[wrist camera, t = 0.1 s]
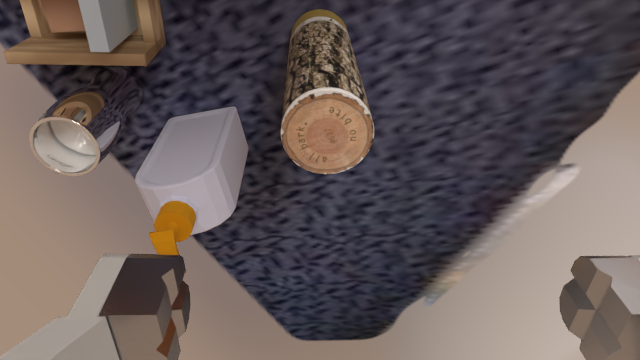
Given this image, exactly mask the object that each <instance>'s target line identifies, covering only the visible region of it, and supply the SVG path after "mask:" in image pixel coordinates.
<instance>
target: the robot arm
mask: <svg viewBox="0 0 640 360" xmlns="http://www.w3.org/2000/svg"><path fill="white" fill-rule="evenodd" d="M185 270H186V269H185V265H184V260H183V257H182V256H180V255H157V254H156V255H155V254H105V255H103V256H102V257H101V258H100V259H99V260H98V262H97V263H96V265H95V267H94V269H93V271H92V272H91V274H90V276H89V278H88V280H87V281H86V283H85V285H84V287H83V288H82V290H81V292H80V294H79V296H78V297H77V299H76V301H75V303H74V305H73V306H72V308H71V310H70V312H69V314H68V315H67V317H57V318H56V319H55V320H53V321H52V322H50V323H49V324H47V325H46V326H44V327H43V328H41V329H40V330H39V331H37V332H36V333H34V334H33V335H31V336H30V337H28V338H27V339H25V340H24V341H22V342H21V343H20V344H18V345H17V346H15V347H14V348H12V349H11V350H9V351H8V352H6V353H5V354H3V355H2V356H0V360H178V357H179V354H180V345H179V340H178V338H179V337H180V336H181V335H182V334H183V333H185V332H186V328H187V324H188V320H189V312H190V292H189V286H188V285H187V284H186V283H185V282H184V281H183V276H184V273H185ZM571 272H572V274H573V276H574V279H572V280H571V281H570V282H568V283H567V284H566V285H564V287H563V290H562V292H561V295H560V312H561V315H562V319H563V321H564V323H565V324H566V326H567V328H568V330H569V331H570V332H572V333H573V334H574V335H576V336H577V337H579V338H580V339H581V344H580V351H581V352H582V354H583V355H584V357H585V359H586V360H640V255H633V256H580V257H579V258H578V259H577V260H575V261H574V264H573V266H572V268H571Z"/></svg>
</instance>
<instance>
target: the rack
mask: <svg viewBox="0 0 640 360" xmlns="http://www.w3.org/2000/svg"><path fill="white" fill-rule="evenodd" d="M20 3H21V7H22V10H23V13H24V16H25V20H26V23H27V26H28V29H29V32H30V36H31V37H30V38H28V39H26V40H24V41H23V42H21V43H19V44H17V45H15V46H14V47H12V48H10V49H8V50H6V51H5V52H4V55H5V58H6V61H7V63H8V64H54V65H116V66H147V65H148V64H149V62H150V61H151V60H152V59H153V58H154V57H155V56H156V55H157V53H158V52H159V51H160V50H161V49H162V48H163V47H164V45H165V44H166V39H165V32H164V26H163V19H162V13H161V6H160V0H133V3H134V8H135V14H136V19H137V25H138V28H137V29H136V30H135V31H134V32H133V33H132V34H130V35H129V36H128V37H127V38H126V39H125V40H123V41H122V42H121V43H120V44H119V45H117V46H116V47H115V48H114V49H113V50H112V51H110V52H91V51H90V47H89V43H88V39H87V35H86V31H75V32H55V33H52V32H51V30H50V27H49V24H48V21H47V18H46V15H45V13H44V10H43V7H42V4H41V1H40V0H20Z"/></svg>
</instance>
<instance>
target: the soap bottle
mask: <svg viewBox="0 0 640 360" xmlns="http://www.w3.org/2000/svg"><path fill="white" fill-rule="evenodd" d="M248 149H249V148H248V145H247V141H246V138H245V135H244V132H243V128H242V125H241V122H240V118H239V115H238V112H237V108H236V107H226V108H221V109H215V110H210V111H204V112H199V113H193V114H188V115H182V116H177V117H173V118H170V119H169V120H168V121H167V123H166V125H165V126H164V128H163V130H162V132H161V133H160V135H159V137H158V138H157V140H156V142H155V143H154V145H153V147H152V149H151V150H150V152H149V154H148V155H147V157H146V159H145V161H144V162H143V164H142V166H141V167H140V169H139V171H138V173H137V174H136V178H135V183H136V186H137V188H138V190H139V192H140V194H141V196H142V198H143V200H144V203H145V205H146V207H147V209H148V211H149V213H150V215H151V217H152V219H153V221H154V227H155V230H156V232H150V233H149V235H150V238H151V241H152V244H153V245H154V247H155V249H156V251H157V253H158V254H159V255H179V252H178V249H177V245H176V242H180V241H183V240H186V239H187V238H188V237H189V236H190V235H193V234H197V233H201V232H205V231H207V230H209V229H212V228H214V227H216V226H218V225H220V224H221V223H223V222H224V221H225V220H226V219H228V218H229V217H230V216H231V215H232V213H233V211H234V210H235V208H236V204H237V199H238V195H239V190H240V186H241V181H242V177H243V172H244V167H245V163H246V158H247V154H248ZM185 273H186V270H185Z"/></svg>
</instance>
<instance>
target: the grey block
mask: <svg viewBox="0 0 640 360" xmlns="http://www.w3.org/2000/svg"><path fill="white" fill-rule="evenodd" d="M78 2H79V6H80V10H81V14H82V18H83V22H84V27H85V31H86V35H87V39H88V43H89V47H90V51H91V52H110V51H112V50H113V49H114V48H115V47H116V46H117V45H119V44H120V43H121V42H122V41H123V40H125V39H126V38H127V37H128V36H129V35H130V34H132V33H133V32H134V31H135V30H136V29H137V28H138V25H137V19H136V14H135V8H134V3H133V0H78Z"/></svg>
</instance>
